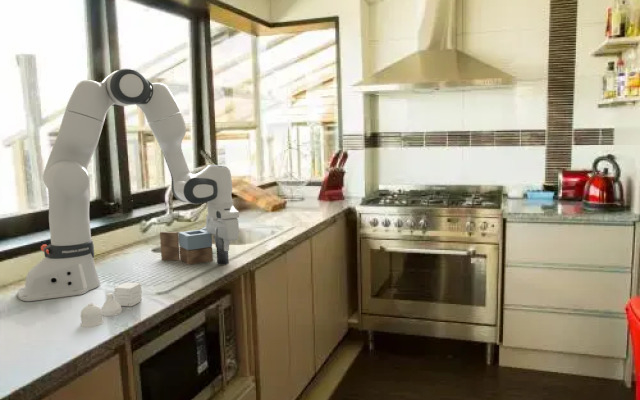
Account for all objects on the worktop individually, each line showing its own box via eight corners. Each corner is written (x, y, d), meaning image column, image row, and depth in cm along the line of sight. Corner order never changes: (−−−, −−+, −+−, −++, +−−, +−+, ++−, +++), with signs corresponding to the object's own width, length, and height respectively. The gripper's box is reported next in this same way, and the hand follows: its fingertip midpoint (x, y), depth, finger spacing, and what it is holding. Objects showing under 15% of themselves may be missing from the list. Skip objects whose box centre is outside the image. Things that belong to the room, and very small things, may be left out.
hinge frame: (174, 267, 181) (172, 238, 179) (160, 259, 192) (159, 232, 191) (212, 260, 189) (211, 233, 187) (198, 253, 200) (196, 227, 199)
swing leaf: (188, 263, 184) (187, 236, 182) (175, 256, 195) (173, 230, 194) (226, 257, 192) (225, 231, 190) (211, 250, 203) (209, 225, 202)
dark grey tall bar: (220, 265, 182) (218, 228, 181) (215, 263, 186) (213, 227, 184) (230, 263, 185) (228, 227, 183) (225, 261, 188) (224, 225, 186)
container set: (126, 300, 147) (124, 282, 146) (142, 302, 146) (141, 283, 145) (76, 327, 128) (74, 305, 127) (94, 328, 126) (92, 307, 126)
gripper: (200, 208, 189) (202, 245, 191) (224, 215, 172) (225, 255, 174) (216, 206, 193) (218, 242, 195) (241, 213, 176) (242, 253, 178)
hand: (222, 249), depth 184 cm, fingers open, 5 cm apart
